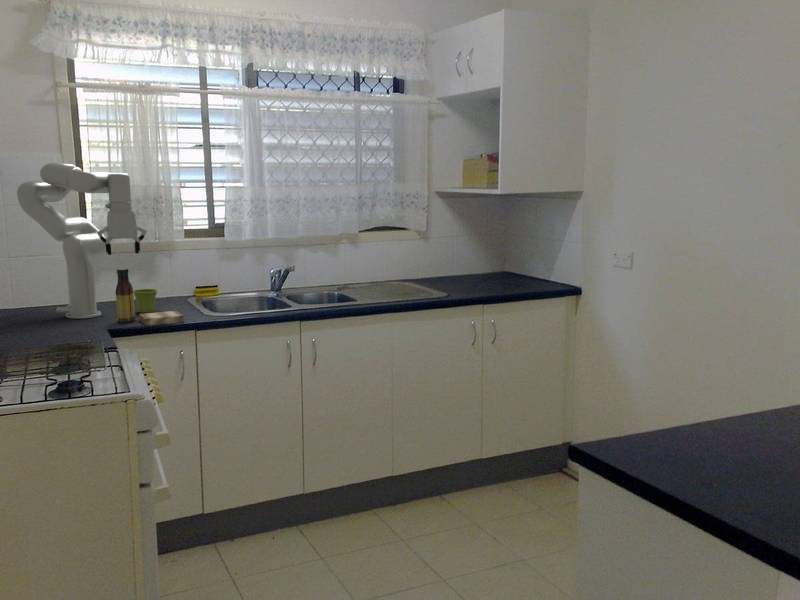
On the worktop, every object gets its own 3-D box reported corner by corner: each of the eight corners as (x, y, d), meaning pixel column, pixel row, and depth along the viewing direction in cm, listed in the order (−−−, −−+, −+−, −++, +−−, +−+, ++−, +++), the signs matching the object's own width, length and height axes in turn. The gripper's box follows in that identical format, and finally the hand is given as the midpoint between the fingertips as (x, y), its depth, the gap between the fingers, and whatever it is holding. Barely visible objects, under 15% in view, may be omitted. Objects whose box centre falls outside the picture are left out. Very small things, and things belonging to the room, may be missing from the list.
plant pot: (147, 308, 305) (146, 287, 303) (163, 311, 300) (162, 289, 298) (128, 312, 297) (127, 290, 295) (145, 314, 292) (143, 293, 290)
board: (145, 325, 271) (145, 318, 271) (139, 320, 281) (139, 313, 280) (184, 322, 278) (184, 315, 278) (177, 317, 288) (176, 310, 287)
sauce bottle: (129, 318, 284) (127, 267, 281) (138, 320, 280) (136, 268, 277) (113, 321, 279) (110, 268, 276) (122, 323, 275) (120, 270, 272)
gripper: (96, 208, 265) (100, 256, 268) (147, 207, 273) (149, 253, 276) (93, 207, 271) (96, 254, 274) (142, 206, 280) (145, 251, 283)
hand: (123, 253), depth 275 cm, fingers open, 9 cm apart
